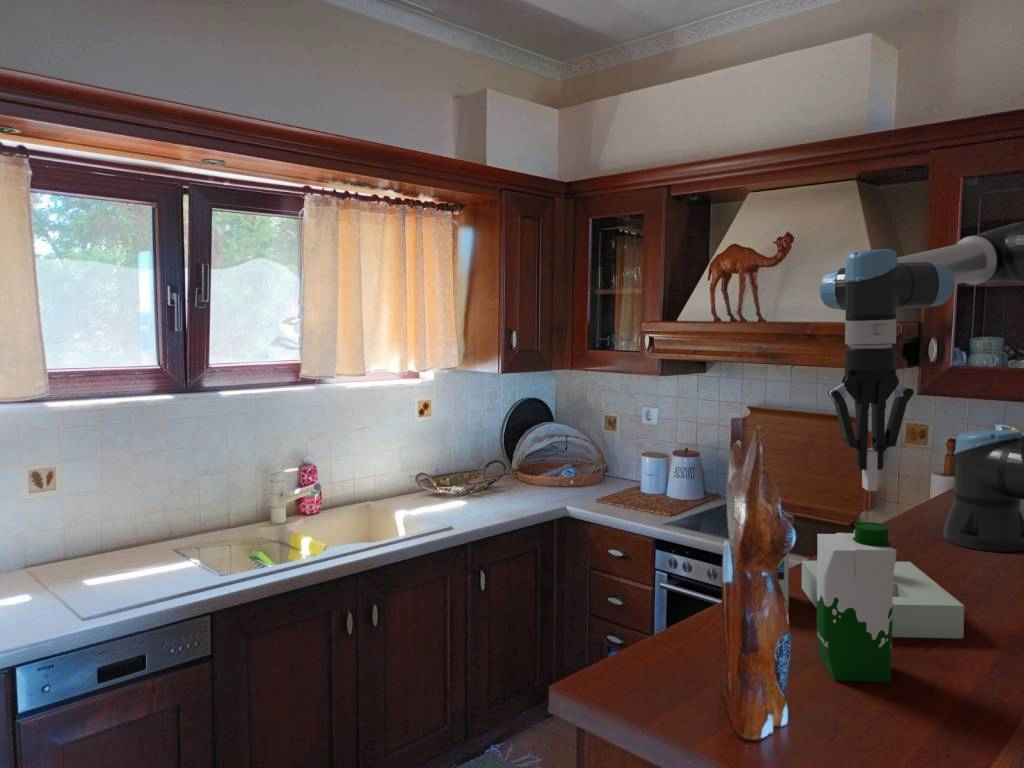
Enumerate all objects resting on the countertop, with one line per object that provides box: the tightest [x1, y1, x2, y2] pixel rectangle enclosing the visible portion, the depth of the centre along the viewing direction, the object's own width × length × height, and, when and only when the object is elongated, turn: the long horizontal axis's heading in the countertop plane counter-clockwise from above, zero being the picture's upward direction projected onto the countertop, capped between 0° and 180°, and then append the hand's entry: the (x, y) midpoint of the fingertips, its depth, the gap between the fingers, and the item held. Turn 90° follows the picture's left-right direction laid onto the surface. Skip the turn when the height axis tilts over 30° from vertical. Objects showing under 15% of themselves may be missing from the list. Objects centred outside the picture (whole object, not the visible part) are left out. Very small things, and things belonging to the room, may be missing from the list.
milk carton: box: [816, 521, 898, 683], centre depth 102 cm, size 9×9×20 cm
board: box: [801, 560, 965, 640], centre depth 123 cm, size 18×20×5 cm
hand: (869, 488), depth 125 cm, fingers closed
